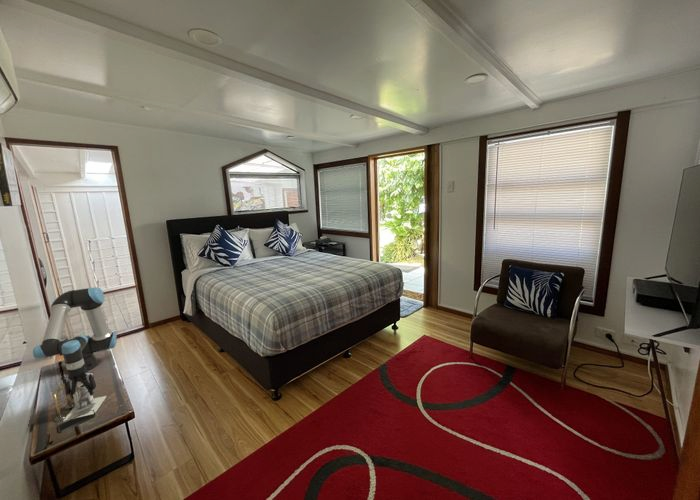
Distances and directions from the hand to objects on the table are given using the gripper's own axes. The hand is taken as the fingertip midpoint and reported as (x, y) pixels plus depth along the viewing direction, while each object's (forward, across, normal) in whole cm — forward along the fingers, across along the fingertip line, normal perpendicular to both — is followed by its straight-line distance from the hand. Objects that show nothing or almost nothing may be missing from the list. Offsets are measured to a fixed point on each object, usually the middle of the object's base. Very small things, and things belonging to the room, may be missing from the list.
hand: (84, 401), depth 167 cm
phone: (+5, +1, -11) cm, 12 cm away
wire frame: (+5, -10, +1) cm, 11 cm away
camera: (+4, 0, 0) cm, 4 cm away
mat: (+5, 0, 0) cm, 5 cm away
